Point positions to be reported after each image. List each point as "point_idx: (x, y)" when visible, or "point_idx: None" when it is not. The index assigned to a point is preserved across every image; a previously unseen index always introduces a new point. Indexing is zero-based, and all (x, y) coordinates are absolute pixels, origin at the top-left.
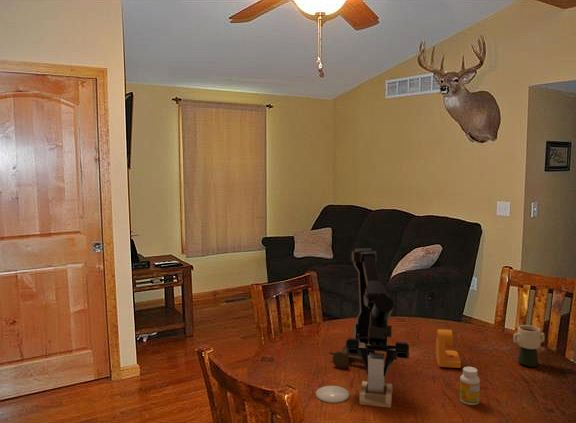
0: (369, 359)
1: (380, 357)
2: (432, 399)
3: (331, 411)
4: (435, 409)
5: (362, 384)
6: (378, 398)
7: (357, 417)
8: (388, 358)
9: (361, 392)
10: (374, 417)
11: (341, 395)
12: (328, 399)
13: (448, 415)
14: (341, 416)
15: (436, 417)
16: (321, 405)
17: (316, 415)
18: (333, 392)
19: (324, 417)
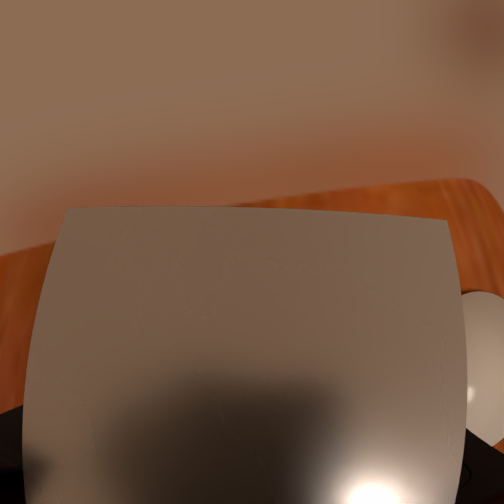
0: (405, 228)
1: (105, 332)
2: (13, 394)
3: None
4: (20, 311)
5: None
6: None
7: (340, 196)
8: (7, 437)
9: None
10: (267, 206)
11: None
12: (486, 301)
13: (3, 272)
14: (401, 195)
15: (35, 252)
16: (489, 265)
17: (473, 194)
18: (483, 379)
19: (448, 184)
